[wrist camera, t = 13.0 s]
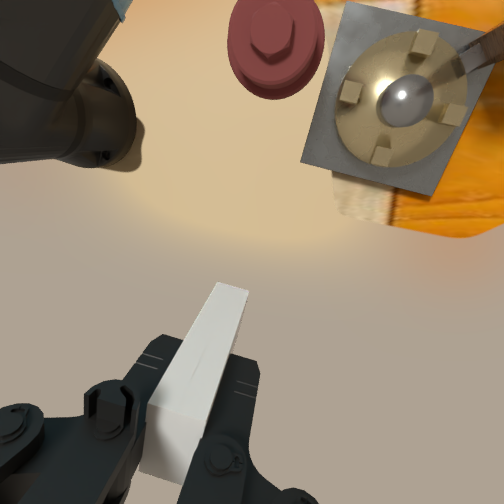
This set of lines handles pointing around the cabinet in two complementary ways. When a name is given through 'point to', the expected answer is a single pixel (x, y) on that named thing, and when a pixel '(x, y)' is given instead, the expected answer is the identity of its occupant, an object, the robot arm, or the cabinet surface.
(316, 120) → the cap plate
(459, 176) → the cabinet surface
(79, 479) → the robot arm
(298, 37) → the mechanical component
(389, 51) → the copper block and disc
